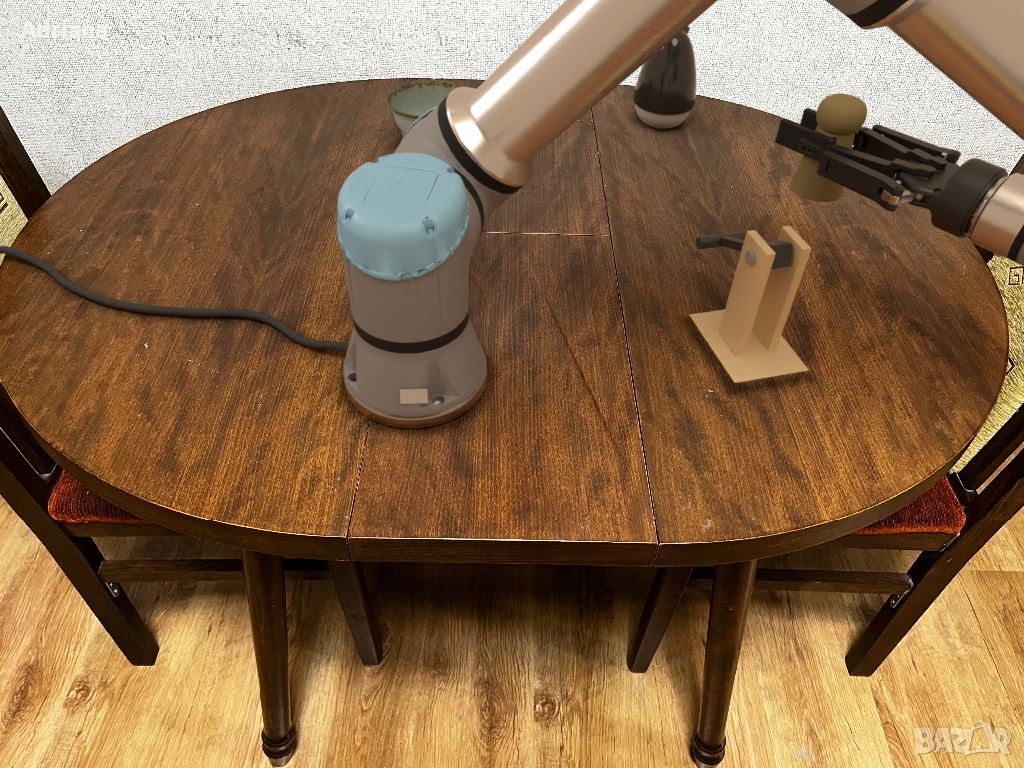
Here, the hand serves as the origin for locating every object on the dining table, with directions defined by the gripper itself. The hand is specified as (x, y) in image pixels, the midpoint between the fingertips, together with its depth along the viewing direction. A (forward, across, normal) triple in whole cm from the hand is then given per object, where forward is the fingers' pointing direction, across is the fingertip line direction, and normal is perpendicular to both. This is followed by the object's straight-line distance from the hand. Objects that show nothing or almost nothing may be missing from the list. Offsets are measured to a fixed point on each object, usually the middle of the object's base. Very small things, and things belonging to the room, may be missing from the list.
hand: (791, 125), depth 89 cm
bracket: (-11, -17, -18) cm, 27 cm away
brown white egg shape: (+34, +20, -18) cm, 44 cm away
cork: (-5, 0, -6) cm, 8 cm away
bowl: (+51, -15, -18) cm, 56 cm away
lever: (-7, -15, -8) cm, 19 cm away
